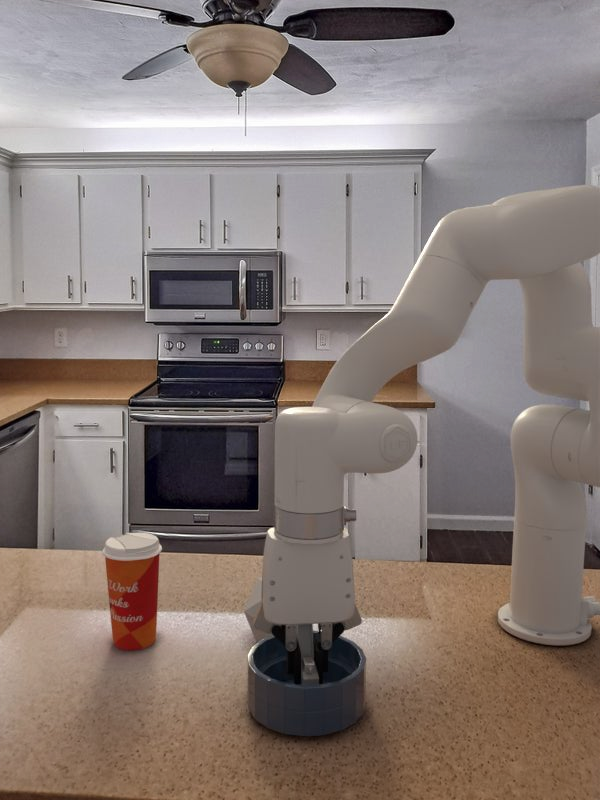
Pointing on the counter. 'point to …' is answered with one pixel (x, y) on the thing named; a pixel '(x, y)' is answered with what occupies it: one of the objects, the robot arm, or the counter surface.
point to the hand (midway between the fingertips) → (306, 677)
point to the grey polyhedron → (255, 610)
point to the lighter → (307, 655)
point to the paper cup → (133, 588)
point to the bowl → (306, 689)
